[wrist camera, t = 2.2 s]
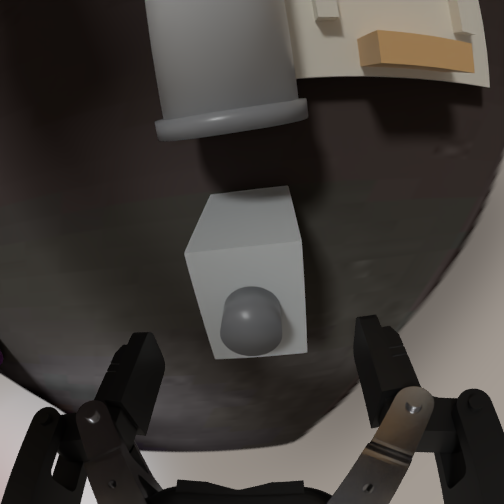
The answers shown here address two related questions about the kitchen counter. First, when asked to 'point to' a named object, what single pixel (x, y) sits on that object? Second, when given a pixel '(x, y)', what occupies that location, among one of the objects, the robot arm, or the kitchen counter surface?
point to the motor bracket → (297, 54)
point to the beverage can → (1, 357)
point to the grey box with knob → (250, 274)
